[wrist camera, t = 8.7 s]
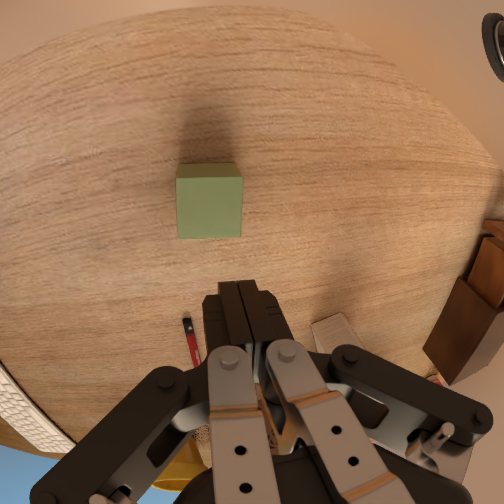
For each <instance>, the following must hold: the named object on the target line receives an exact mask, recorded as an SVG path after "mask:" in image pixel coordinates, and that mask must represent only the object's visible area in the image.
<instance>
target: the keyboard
mask: <svg viewBox="0 0 504 504" xmlns="http://www.w3.org/2000/svg"><path fill="white" fill-rule="evenodd" d="M0 415H1V416H2V417H3V418H4V419H5V420H6V421H7V422H8V423H9V424H10V425H11V426H12V427H13V428H14V429H15V430H17V431H18V432H19V433H20V434H21V435H22V436H23V437H25V438H26V439H27V440H28V441H29V442H31V443H32V444H33V445H34V446H35V447H37V448H38V449H39V450H40V451H43V452H60V453H68V452H69V451H70V450H71V449H72V448H73V447H74V446H75V445H76V444H75V443H74V442H73V441H72V440H70V439H69V438H68V437H67V436H66V435H65V434H64V433H63V432H62V431H61V430H59V429H58V428H57V427H56V426H55V425H54V424H53V423H52V422H51V421H50V420H49V419H48V418H47V417H46V416H45V415H44V414H43V413H42V412H41V411H40V410H39V409H38V408H37V407H36V406H35V405H34V403H33V402H32V401H31V400H30V399H29V398H28V397H27V396H26V395H25V393H24V392H23V391H22V390H21V389H20V388H19V386H18V385H17V384H16V383H15V382H14V380H13V379H12V378H11V377H10V375H9V374H8V373H7V371H6V370H5V369H4V368H3V366H2V365H1V364H0Z"/></svg>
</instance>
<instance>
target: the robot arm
mask: <svg viewBox="0 0 504 504" xmlns="http://www.w3.org/2000/svg"><path fill="white" fill-rule="evenodd" d="M493 40H494V46H495V50H496V53H497V56H498V59H499V61H500V64H501V66H502V68H503V69H504V18H501V21H497V22H496V23H495V24H494V28H493ZM202 309H203V322H204V333H205V341H206V350H207V356H206V359H205V360H204V361H203V362H202V363H201V364H200V365H199V366H197V367H195V368H193V369H190V370H187V371H185V372H183V371H182V370H180V369H178V368H176V367H172V366H163V367H159V368H156V369H154V370H152V371H151V372H150V373H149V374H148V375H147V376H146V377H145V378H144V379H143V380H142V381H141V382H140V383H139V384H138V385H137V386H136V387H135V388H134V389H133V390H132V391H131V392H130V393H129V394H128V395H127V396H126V397H125V398H124V399H123V400H122V401H121V402H120V403H119V404H118V405H116V406H115V407H114V408H113V409H112V410H111V411H110V412H109V413H108V414H107V415H106V416H105V417H104V418H103V419H102V420H101V421H100V422H99V423H98V424H97V425H96V426H95V427H94V428H93V429H92V430H91V431H90V432H89V433H88V434H87V435H86V436H85V437H84V438H83V439H82V440H81V441H80V442H79V443H78V444H77V445H75V446H74V447H73V448H72V449H71V450H70V451H69V452H68V453H67V454H66V455H65V456H64V457H63V458H62V459H61V460H60V461H59V462H58V463H57V464H56V465H55V466H54V467H53V468H52V469H51V470H50V471H48V472H47V473H46V474H45V475H44V476H43V477H42V478H41V479H40V480H39V481H38V482H37V483H36V484H35V485H34V486H33V488H32V489H31V491H30V504H137V503H136V502H137V501H138V500H139V499H140V497H141V496H142V495H143V494H144V493H145V492H146V491H147V490H148V488H149V487H150V486H151V485H152V484H153V483H154V481H155V480H156V479H157V478H158V477H159V476H160V474H161V473H162V472H163V471H164V470H165V468H166V467H167V466H168V465H169V464H170V462H171V461H172V460H173V459H174V457H175V456H176V455H177V454H178V452H179V451H180V450H181V449H182V447H183V446H184V445H185V444H186V442H187V441H188V440H189V439H190V437H191V436H192V435H193V434H194V432H195V431H196V429H197V428H198V427H201V426H204V425H206V424H209V427H210V443H211V458H212V467H211V468H209V469H207V470H205V471H203V472H201V473H200V474H198V475H197V476H195V477H194V478H193V479H192V480H191V481H190V482H189V483H188V484H187V485H186V486H185V487H184V489H183V490H182V492H181V493H180V494H179V496H178V497H177V499H176V500H175V501H174V503H173V504H473V500H472V497H471V495H470V493H469V491H468V490H467V489H466V488H465V487H464V486H463V485H462V482H463V480H464V477H465V474H466V470H467V467H468V464H469V461H470V457H471V454H472V450H473V446H474V444H475V443H476V442H477V441H479V440H480V439H481V438H482V437H483V436H484V435H485V434H486V433H487V432H489V430H490V429H491V428H492V425H493V415H492V413H491V411H490V409H489V408H488V407H487V406H486V405H484V404H482V403H480V402H477V401H475V400H473V399H470V398H468V397H466V396H463V395H461V394H458V393H457V392H454V391H452V390H450V389H448V388H445V387H443V386H441V385H439V384H436V383H434V382H432V381H430V380H428V379H425V378H423V377H421V376H419V375H417V374H414V373H412V372H410V371H408V370H406V369H404V368H402V367H399V366H397V365H395V364H393V363H391V362H389V361H387V360H385V359H383V358H380V357H378V356H376V355H374V354H372V353H370V352H368V351H366V350H364V349H362V348H360V347H358V346H355V345H351V344H343V345H340V346H337V347H336V348H335V349H334V350H333V351H332V353H331V354H326V353H315V352H310V351H307V350H306V349H305V347H304V346H303V345H302V344H300V343H299V342H297V341H295V340H294V338H293V335H292V333H291V331H290V329H289V326H288V324H287V322H286V320H285V317H284V315H283V314H282V310H281V308H280V307H279V304H278V301H277V299H276V297H275V296H274V295H272V294H271V293H270V292H269V291H268V290H265V291H259V290H258V288H257V285H256V282H255V280H254V279H253V280H240V281H227V282H218V294H217V295H206V297H205V299H204V301H203V303H202ZM255 383H260V386H261V389H262V392H261V400H262V403H263V406H264V408H265V411H266V414H267V416H268V419H269V421H270V424H271V426H272V429H273V431H274V434H275V436H276V439H277V444H278V452H279V455H271V452H270V447H269V441H268V436H267V431H266V426H265V420H264V415H263V412H262V409H261V408H259V405H258V400H257V394H256V389H255ZM356 390H357V391H356ZM358 391H359V392H358ZM360 392H361V393H360ZM362 393H363V394H362ZM364 394H365V395H364ZM366 395H367V396H366ZM368 396H369V397H368ZM370 397H371V398H370ZM372 398H373V399H372ZM374 399H375V400H374ZM376 400H377V401H376ZM378 401H379V402H378ZM380 402H381V403H380ZM369 437H370V438H372V439H374V440H376V441H378V442H380V443H382V444H384V445H386V446H388V447H390V448H393V449H395V450H397V451H399V452H401V453H404V454H405V456H406V459H404V458H402V457H400V456H398V455H396V454H394V453H392V452H390V451H388V450H386V449H384V448H383V447H381V446H378V445H376V444H374V443H372V442H371V440H370V439H369Z"/></svg>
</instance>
